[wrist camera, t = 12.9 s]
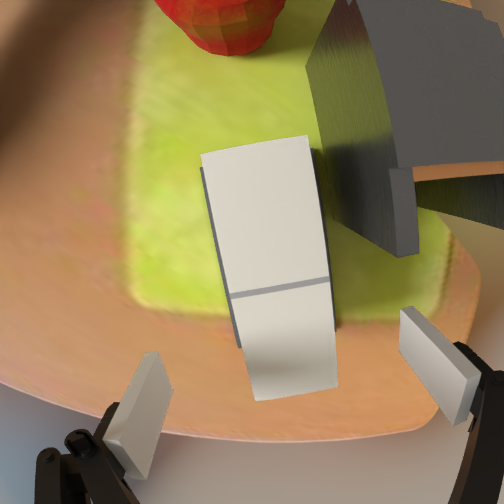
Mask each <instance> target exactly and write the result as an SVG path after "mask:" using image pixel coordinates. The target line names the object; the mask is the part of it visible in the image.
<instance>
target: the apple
mask: <svg viewBox="0 0 504 504" xmlns="http://www.w3.org/2000/svg"><path fill="white" fill-rule="evenodd" d="M285 1H286V0H155V2H156V3H157V5H158V6H159V7H160V8H161V10H162V11H163V12H164V13H165V14H166V15H167V16H168V17H169V18H170V19H171V20H172V21H173V22H174V23H175V24H177V25H178V26H179V27H180V28H181V29H182V30H183V31H184V32H185V33H186V34H187V36H188V37H189V38H190V39H191V40H192V41H193V42H194V43H195V44H196V45H197V46H198V47H200V48H202V49H204V50H206V51H208V52H209V53H211V54H217V55H223V56H235V55H245V54H247V53H249V52H251V51H253V50H255V49H257V48H259V47H261V46H262V45H263V44H264V43H265V41H266V40H267V39H268V38H269V37H270V36H271V33H272V29H273V24H274V20H275V19H276V17H277V16H278V14H279V13H280V12H281V10H282V9H283V8H284V4H285Z"/></svg>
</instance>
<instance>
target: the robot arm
mask: <svg viewBox="0 0 504 504" xmlns="http://www.w3.org/2000/svg"><path fill="white" fill-rule="evenodd" d="M399 352H400V353H401V355H402V356H403V357H404V359H405V360H406V361H407V363H408V364H409V366H410V367H411V368H412V370H413V371H414V372H415V374H416V375H417V376H418V378H419V379H420V381H421V382H422V383H423V385H424V386H425V387H426V389H427V390H428V392H429V393H430V394H431V396H432V397H433V399H434V400H435V402H436V403H437V404H438V406H439V407H440V409H441V410H442V412H443V413H444V414H445V416H446V417H447V419H448V420H449V422H450V423H451V425H452V426H455V425H457V424H460V423H462V422H464V421H466V420H467V417H468V415H469V412H471V413H472V414H473V415H474V417H473V420H472V422H471V425H470V428H469V430H468V432H470V433H469V437H468V441H467V445H466V449H465V453H464V457H463V460H462V463H461V467H460V470H459V473H458V476H457V479H456V482H455V485H454V488H453V492H452V494H451V497H450V499H449V502H448V504H497V501H498V497H499V493H500V489H501V485H502V480H503V475H504V371H501V370H499V371H493V370H492V369H491V368H490V367H489V366H488V365H487V364H486V363H485V362H484V361H483V360H482V359H481V358H480V357H479V356H477V354H476V353H475V352H473V350H472V349H470V348H469V347H468V346H467V345H465V344H463V343H461V342H459V341H458V342H455V343H451V342H450V341H449V340H448V339H447V338H446V337H445V336H444V335H443V334H442V333H441V332H440V331H439V330H438V329H437V328H436V327H435V326H433V325H432V324H431V323H430V322H429V321H428V320H427V319H426V318H425V317H424V316H423V315H422V314H421V313H420V312H419V311H417V310H416V309H415V308H414V307H413V306H410V307H406V308H403V309H400V335H399ZM172 393H173V388H172V385H171V383H170V380H169V378H168V375H167V373H166V370H165V368H164V365H163V362H162V360H161V357H160V354H159V352H148V353H145V355H144V357H143V359H142V361H141V363H140V365H139V367H138V369H137V371H136V372H135V374H134V376H133V378H132V380H131V382H130V384H129V386H128V388H127V390H126V392H125V394H124V396H123V398H122V400H121V402H114V403H113V404H112V405H111V406H109V407H108V408H107V410H106V412H105V414H104V416H103V418H102V419H101V421H100V422H101V423H99V425H98V427H97V429H96V431H95V433H94V435H93V436H92V435H91V434H90V432H89V431H88V430H85V429H78V430H74V431H73V432H71V433H69V435H68V436H67V437H66V439H65V441H64V442H65V446H66V447H67V449H68V450H69V451H70V453H71V454H64V455H61V453H60V452H59V451H58V450H57V449H56V448H53V447H52V448H47V449H44V450H42V451H41V452H40V453H39V455H38V457H37V461H36V475H35V503H34V504H91V500H90V497H91V499H92V501H93V504H140V503H139V501H138V500H137V498H136V497H135V495H134V494H133V492H132V490H131V489H130V487H129V485H128V484H127V482H126V481H125V479H124V478H123V477H124V474H125V471H126V473H127V474H128V475H129V476H130V478H132V479H141V480H147V476H148V473H149V469H150V466H151V462H152V459H153V456H154V452H155V449H156V445H157V442H158V439H159V435H160V432H161V429H162V426H163V422H164V419H165V416H166V413H167V409H168V406H169V403H170V400H171V397H172Z"/></svg>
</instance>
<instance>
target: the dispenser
mask: <svg viewBox="0 0 504 504" xmlns="http://www.w3.org/2000/svg"><path fill="white" fill-rule="evenodd" d="M305 67H306V71H307V75H308V79H309V84H310V88H311V92H312V97H313V101H314V106H315V111H316V116H317V121H318V126H319V131H320V136H321V141H322V147H323V152H324V158H325V164H326V170H327V176H328V182H329V189H330V195H331V202H332V209H333V216H334V220H336V221H337V222H339V223H341V224H343V225H344V226H346V227H348V228H349V229H351V230H353V231H354V232H356V233H358V234H360V235H361V236H363V237H364V238H366V239H368V240H369V241H371V242H373V243H374V244H376V245H378V246H379V247H381V248H382V249H384V250H386V251H387V252H389V253H390V254H392V255H394V256H395V257H397V258H399V257H404V256H409V255H414V254H419V233H418V217H417V207H421V208H425V209H429V210H434V211H438V212H442V213H445V214H449V215H453V216H457V217H461V218H465V219H468V220H472V221H475V222H479V223H482V224H486V225H489V226H493V227H496V228H499V229H503V230H504V39H503V36H502V34H501V31H500V29H499V26H498V24H497V23H495V22H492V21H489V20H485V19H484V17H483V15H482V13H481V11H477V10H474V9H471V8H467V7H464V6H460V5H457V4H453V3H449V2H445V1H440V0H336V1H335V3H334V5H333V7H332V9H331V12H330V14H329V16H328V18H327V20H326V22H325V24H324V26H323V29H322V31H321V33H320V35H319V37H318V39H317V42H316V44H315V46H314V48H313V50H312V53H311V55H310V57H309V59H308V61H307V64H306V66H305ZM414 183H415V186H414ZM415 192H416V195H415ZM416 202H417V205H416Z"/></svg>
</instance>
